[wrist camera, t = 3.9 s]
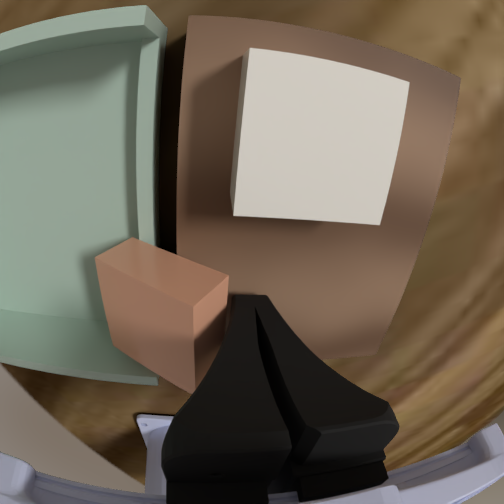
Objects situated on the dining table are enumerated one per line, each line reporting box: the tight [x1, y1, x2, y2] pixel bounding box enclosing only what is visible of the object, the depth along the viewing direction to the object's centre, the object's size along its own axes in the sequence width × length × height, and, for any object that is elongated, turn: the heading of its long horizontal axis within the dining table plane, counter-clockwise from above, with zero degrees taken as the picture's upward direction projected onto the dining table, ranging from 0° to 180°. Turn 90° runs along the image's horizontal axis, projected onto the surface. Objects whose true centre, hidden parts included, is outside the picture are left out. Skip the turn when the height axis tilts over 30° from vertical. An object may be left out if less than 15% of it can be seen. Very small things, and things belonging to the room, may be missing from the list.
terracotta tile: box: [95, 237, 229, 394], centre depth 12 cm, size 4×4×2 cm
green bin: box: [0, 5, 168, 386], centre depth 10 cm, size 14×11×4 cm
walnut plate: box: [177, 15, 461, 360], centre depth 13 cm, size 14×10×2 cm
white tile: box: [230, 48, 410, 225], centre depth 9 cm, size 4×4×2 cm
